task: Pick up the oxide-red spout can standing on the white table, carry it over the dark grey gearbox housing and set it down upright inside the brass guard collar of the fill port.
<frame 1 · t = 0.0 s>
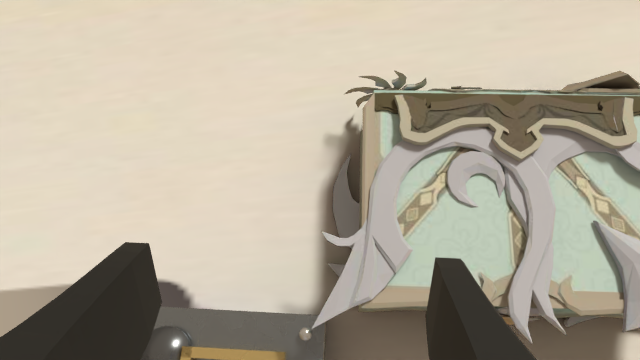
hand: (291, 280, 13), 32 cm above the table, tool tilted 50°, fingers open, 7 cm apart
ornate book: (482, 214, 46), on the table
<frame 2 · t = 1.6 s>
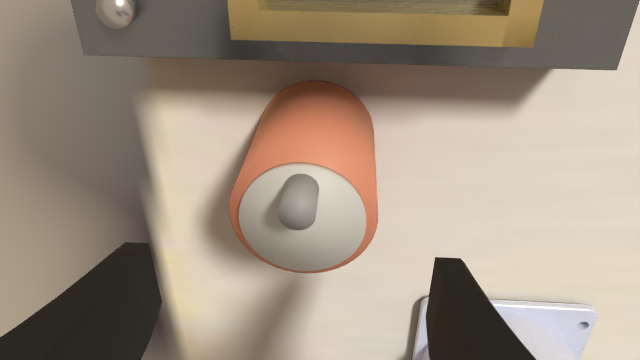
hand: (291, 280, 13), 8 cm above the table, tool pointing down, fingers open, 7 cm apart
spout can: (316, 135, 20), on the table
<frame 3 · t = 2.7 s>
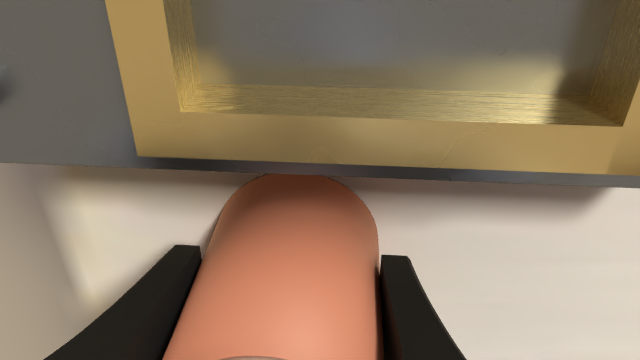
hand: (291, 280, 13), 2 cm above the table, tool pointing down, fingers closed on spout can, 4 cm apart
spout can: (297, 240, 14), on the table, touching gripper
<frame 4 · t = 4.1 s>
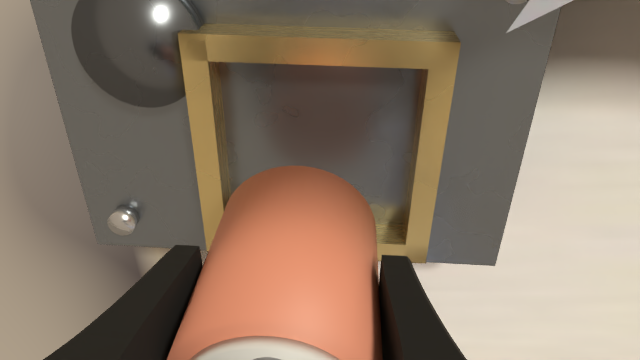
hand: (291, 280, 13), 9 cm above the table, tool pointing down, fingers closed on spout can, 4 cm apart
spout can: (299, 231, 15), point 7 cm above the table, touching gripper
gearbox: (298, 85, 20), on the table
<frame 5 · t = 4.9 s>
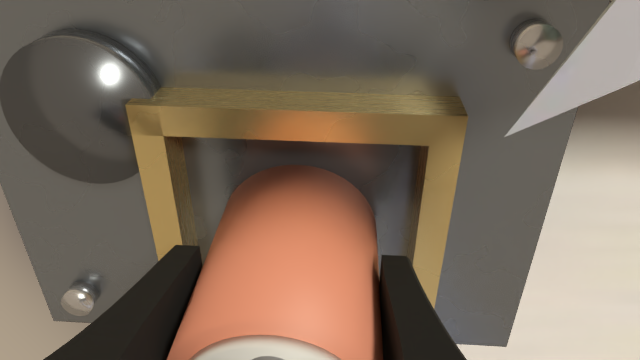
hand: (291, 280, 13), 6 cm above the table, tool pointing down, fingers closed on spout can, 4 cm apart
spout can: (299, 230, 15), point 3 cm above the table, touching gripper
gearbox: (279, 142, 17), on the table
when the fingers open (6 cm above the table, at t = 5.6 s): spout can stays where it is, resting on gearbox.
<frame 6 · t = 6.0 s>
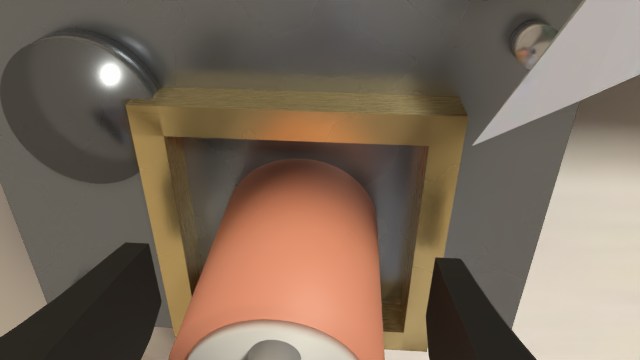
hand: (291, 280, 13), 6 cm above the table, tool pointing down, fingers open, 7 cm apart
spout can: (301, 224, 15), point 3 cm above the table, touching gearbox
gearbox: (280, 142, 17), on the table
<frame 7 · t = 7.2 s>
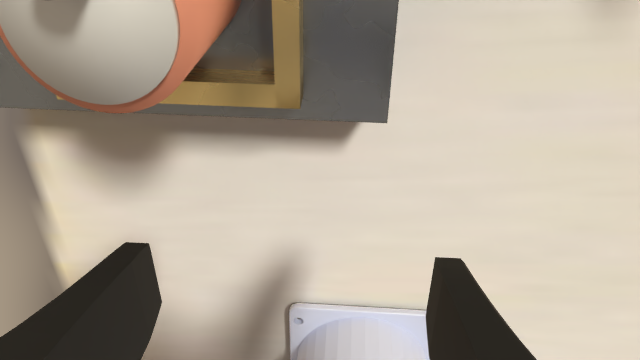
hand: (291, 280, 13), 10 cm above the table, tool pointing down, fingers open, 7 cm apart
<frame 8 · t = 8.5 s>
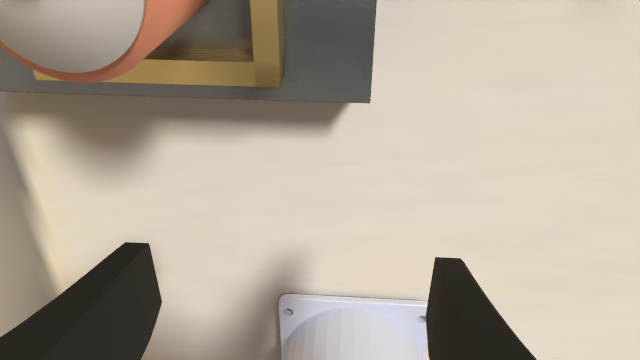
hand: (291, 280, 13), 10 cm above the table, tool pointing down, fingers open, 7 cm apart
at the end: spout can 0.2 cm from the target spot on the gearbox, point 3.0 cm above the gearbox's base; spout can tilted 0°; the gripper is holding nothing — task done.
